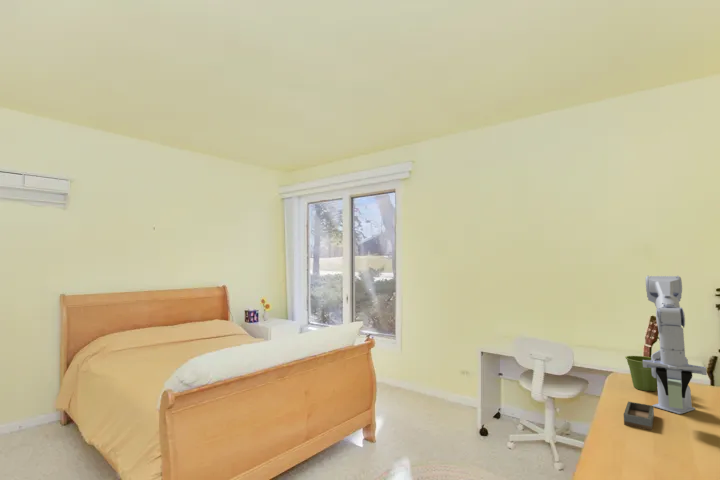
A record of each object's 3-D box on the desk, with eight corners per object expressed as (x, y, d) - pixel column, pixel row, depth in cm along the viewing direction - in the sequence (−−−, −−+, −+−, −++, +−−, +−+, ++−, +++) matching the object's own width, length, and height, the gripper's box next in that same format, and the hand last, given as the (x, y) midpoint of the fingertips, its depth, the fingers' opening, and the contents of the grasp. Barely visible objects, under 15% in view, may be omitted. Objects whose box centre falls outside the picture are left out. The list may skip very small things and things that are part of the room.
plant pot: (666, 395, 140) (664, 364, 141) (627, 390, 146) (625, 360, 147) (663, 387, 150) (661, 357, 150) (626, 382, 156) (624, 354, 157)
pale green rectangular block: (669, 399, 117) (668, 378, 117) (682, 401, 115) (680, 380, 115) (669, 406, 111) (667, 385, 111) (682, 408, 109) (681, 387, 109)
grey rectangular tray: (628, 410, 126) (628, 401, 126) (654, 415, 121) (653, 405, 122) (624, 424, 115) (623, 414, 115) (651, 430, 111) (651, 419, 111)
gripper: (641, 347, 116) (643, 394, 115) (705, 354, 106) (709, 404, 105) (642, 344, 121) (645, 388, 120) (704, 350, 112) (707, 398, 111)
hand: (675, 395), depth 113 cm, fingers closed on pale green rectangular block, 3 cm apart
